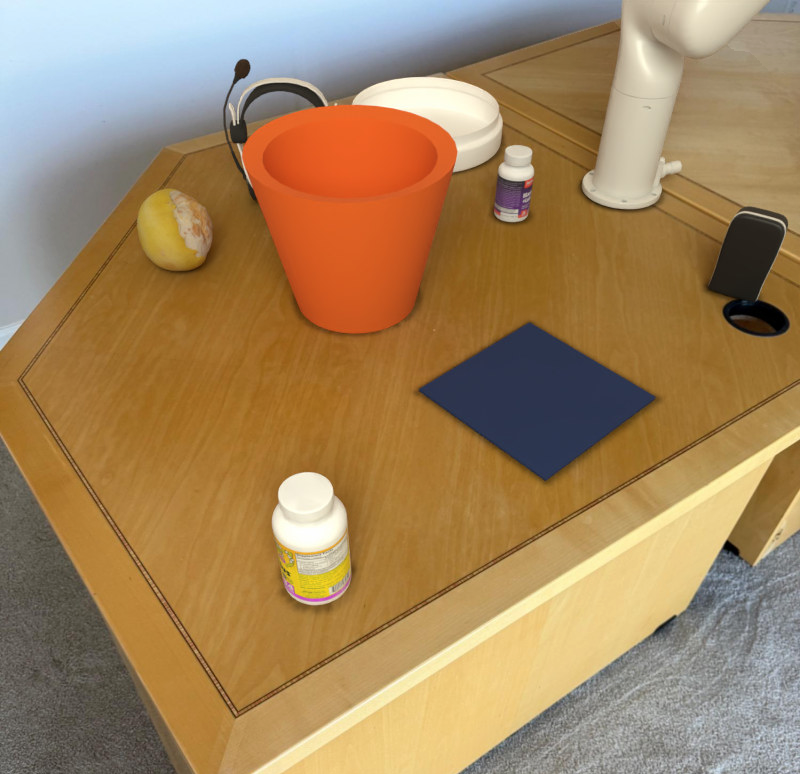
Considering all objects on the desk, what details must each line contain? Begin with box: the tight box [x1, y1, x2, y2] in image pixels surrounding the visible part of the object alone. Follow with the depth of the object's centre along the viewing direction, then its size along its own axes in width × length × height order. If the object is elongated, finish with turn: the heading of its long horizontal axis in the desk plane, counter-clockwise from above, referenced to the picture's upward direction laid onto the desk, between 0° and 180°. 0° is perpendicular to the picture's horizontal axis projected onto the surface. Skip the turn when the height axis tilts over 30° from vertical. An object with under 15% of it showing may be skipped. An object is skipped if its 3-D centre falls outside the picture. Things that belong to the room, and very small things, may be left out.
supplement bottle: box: [271, 471, 352, 606], centre depth 69 cm, size 7×7×13 cm
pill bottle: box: [493, 144, 535, 223], centre depth 114 cm, size 5×5×10 cm
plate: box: [351, 76, 504, 174], centre depth 133 cm, size 27×27×6 cm
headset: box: [222, 58, 338, 201], centre depth 113 cm, size 17×8×20 cm, turn 91°
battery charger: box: [707, 205, 789, 303], centre depth 101 cm, size 7×4×11 cm, turn 60°
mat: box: [418, 321, 656, 482], centre depth 91 cm, size 20×20×1 cm
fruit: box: [136, 188, 214, 272], centre depth 105 cm, size 10×11×10 cm
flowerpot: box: [242, 104, 458, 335], centre depth 96 cm, size 25×25×20 cm
